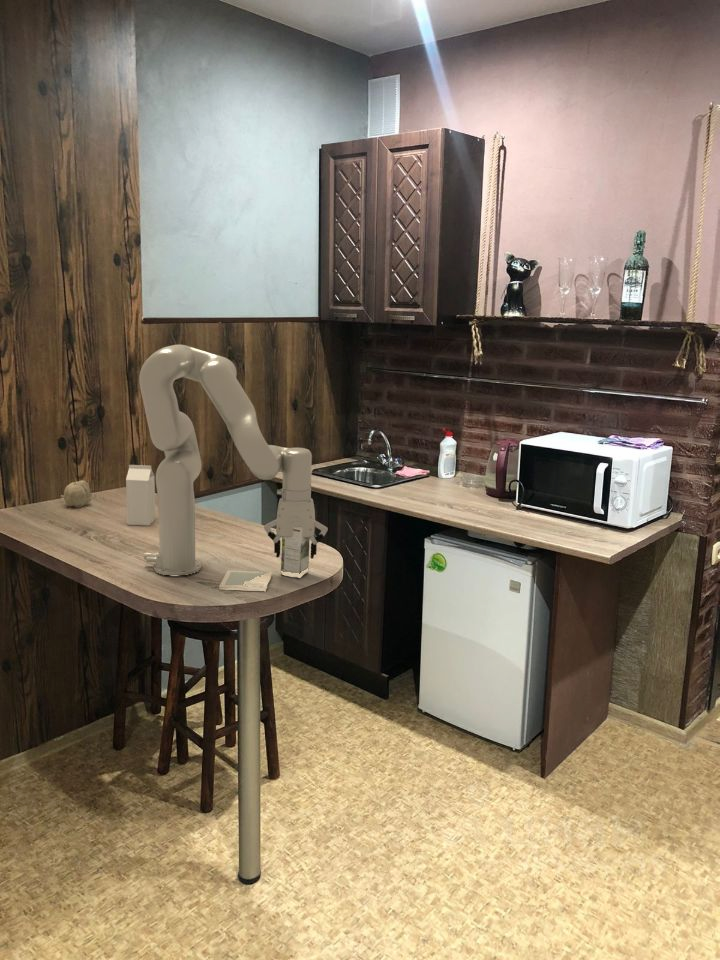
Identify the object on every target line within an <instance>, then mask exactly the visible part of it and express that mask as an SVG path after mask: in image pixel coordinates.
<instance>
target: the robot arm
mask: <svg viewBox="0 0 720 960" xmlns="http://www.w3.org/2000/svg"><path fill="white" fill-rule="evenodd" d="M237 373H238V372H237V368H236V365H235V364H234V362H233V361H232V360H230V359H228V358H227V357H224V356H221V355H219V354H215V353H211V352H208V351H205V350H201V349H199V348H196V347H193V346H189V345H185V344H173V345H167V346H164V347H162V348H159V349H158V350H156V351H155V352H153V353H152V354H151V355H150V356H149V357H148V358H147V359H146V360H145V361H144V362H143V365H142V366H141V369H140V372H139V379H138V381H139V382H138V383H139V388H140V394H141V398H142V402H143V406H144V411H145V417H146V421H147V425H148V429H149V434H150V435H149V437H150V440H151V442H152V445H154V446H155V447H156V449H158V450H159V451H163V452H164V456H165V458H164V459H163V460H162V461H161V462H160V463H159V465H158V467H157V469H156V472H155V485H156V492H157V501H158V502H157V503H158V504H157V505H158V508H157V509H158V540H159V541H158V543H159V544H158V547H159V551H156V552H154V553H153V552H144V554H143V555H144V556H143V559H144V560H145V561H146V562H147V563H155V564H153V571H154V572H155V573H157V574H158V573H159V574H158V575H160V574H164V575H186V574H191V575H193V574H192V573H194V572H197V571H198V572H200V571H201V569H202V563H201V562H200V561H199V560H197V559H196V503H195V500H196V499H195V490H194V482H195V481H196V479H197V478H198V477H199V475H200V473H201V471H202V459H201V454H200V448H199V445H198V439H197V435H196V432H195V431H196V430H195V426H194V424H193V421H192V420H191V418H190V417H189V416H188V415H187V414H186V413H184V412H182V411H180V409H179V404H178V398H177V395H176V393H175V389H174V382H175V380H178V379H181V378H184V379H188V380H190V381H193V382H198V383H200V385H201V386H202V388H203V389H204V391H205V393H206V395H207V396H208V397H209V399H210V400H211V402H212V404H213V405H214V407H215V409H216V410H217V412H218V413H219V416H221V419H223V421H224V423H225V425H226V428H227V430H228V432H229V434H230V436H231V439H232V441H233V443H234V446H235V447H236V449H237V451H238V453H239V455H240V457H241V458H242V460H243V461H244V462H245V464H246V466H247V467H248V469H249V471H250V472H251V473H252V475H254V476H255V477H256V478H258V479H260V480H263V481H269V480H271V479H273V478H275V477H276V476H277V475H278V474H279V473H282V488H280V489H276V495H279V496H281V498H279V501H278V505H277V512H276V519H274V520H271V521H270V522H267V523H266V524H265V525H264V526H263V529H264V531H265V532H266V534H267V536H268V537H269V538H270V539H271V540H272V542H273V543H274V544H273V545H274V548H273V550H274V551H273V553H274V554H276V558H279V557H280V556H281V547H282V540H281V539H282V537H293V529H294V528H293V526H296V527H302V528H303V530H302V537H303V538H309V539H310V559H312V560H313V559H314V557H315V556H317V549H318V548H317V546H318V543H319V542H320V541H322V539H324V537H325V536H326V534H327V532H328V530H329V529H328V527H327V526H325V525H324V524H322V523H320V522H319V521H317V520H316V515H315V514H316V512H315V511H316V510H315V504H314V499H313V498H312V495H311V494H312V487H311V486H312V461H313V460H312V459H313V455H312V451H310V449H307V448H304V447H283V446H278V445H273V444H268V443H267V441H266V440H265V438H264V436H263V434H262V432H261V430H260V426H259V422H258V418H257V412H256V410H255V406H254V404H253V402H252V401H251V399H250V398H249V396H248V394H247V393H246V392H245V389H243V387H242V385H241V383H240V382H239V380H238V378H237ZM275 526H276V527H275ZM273 527H275V529H276V530H275V531H276V533H274V531H273V530H272V528H273ZM315 529H318V530H320V533H318V534H317V535H316V534H315V531H316V530H315ZM199 570H200V571H199ZM198 572H197V573H198ZM194 574H195V573H194ZM164 575H163V576H164Z"/></svg>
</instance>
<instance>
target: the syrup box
mask: <svg viewBox="0 0 720 960" xmlns="http://www.w3.org/2000/svg"><path fill="white" fill-rule="evenodd" d="M293 528H294V529H293V537H281V553H280V556H281V559H280V560H281V563H280V572H281V571H283V572H291V573H299V574H300V573H301V572H302V571H304V570H306V569H307V568H308V569H309V564H310V563H309V562H310V561H309V560H310V559H309V558H310V543H311V540H310V539H309V538H303V537H302V530H303V528H302V527H296V526H293Z"/></svg>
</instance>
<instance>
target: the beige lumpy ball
mask: <svg viewBox="0 0 720 960" xmlns="http://www.w3.org/2000/svg"><path fill="white" fill-rule="evenodd" d="M91 494H92V493H91V487H90V485H89V483H88V482H87V481H85V480H78V481H73V482H71V483H69V484H68V485H66V486H65V488H64V491H63V495H62V494H61V495H60V498H61V499H63V500H64V502H65V504H66V505H67V506H68V507H74V506H75V508H83V507H84V506H87V505H88V504H89V503H91V502H92V498H91V497H92V495H91Z"/></svg>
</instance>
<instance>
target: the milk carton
mask: <svg viewBox="0 0 720 960" xmlns="http://www.w3.org/2000/svg"><path fill="white" fill-rule="evenodd" d="M152 469H153V468H152V465H142V464H141V465H140V464H138V465H137V464H128V471H127V474H126V478H125V485H126V486H125V489H126V490H125V491H126V493H125V494H126V522H127V523H126V524H127V525H129V526H151V525H152V523H153V522H154V521H156V495H155V493H156V491H155V490H156V489H155V485H156V480H155V474H154V472H153V470H152Z"/></svg>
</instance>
